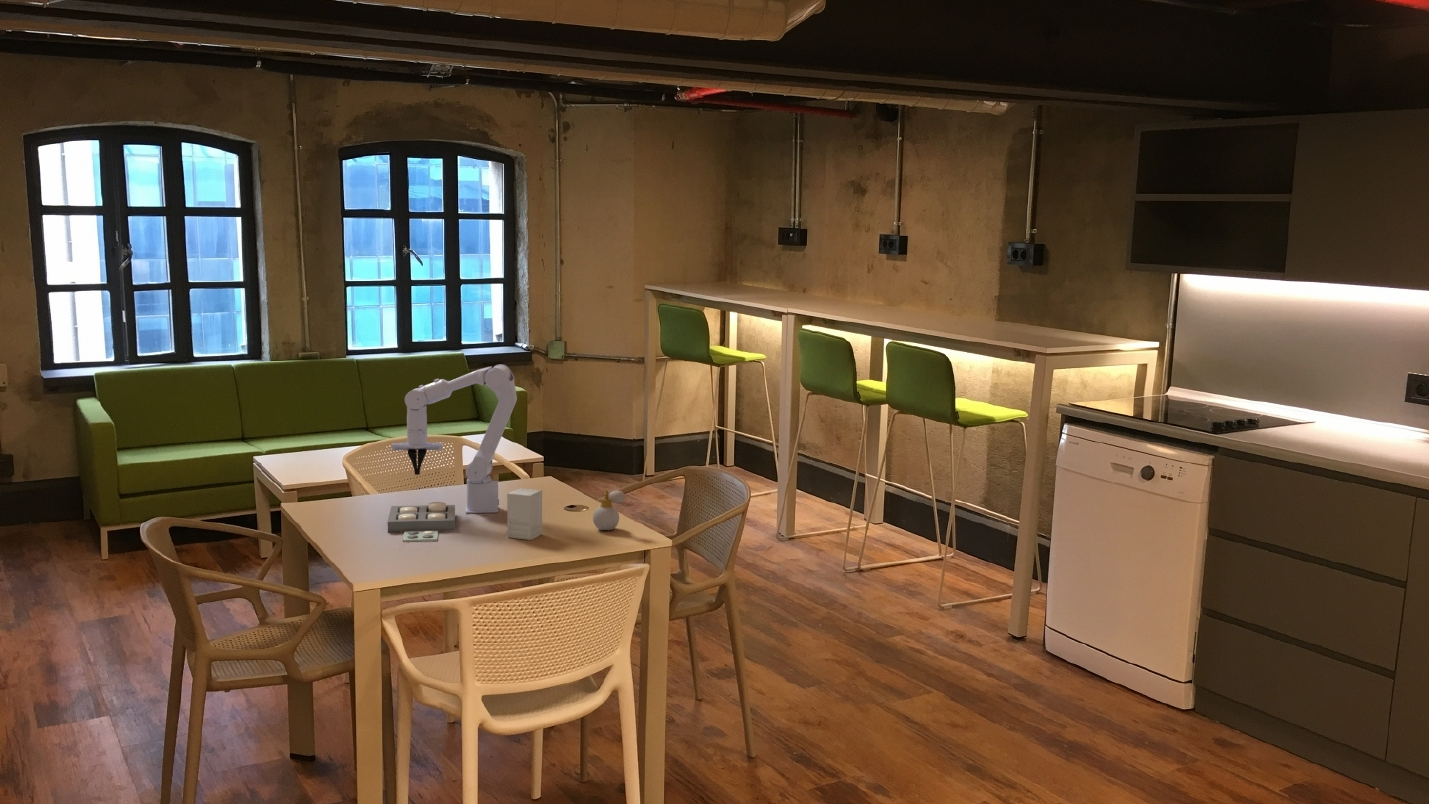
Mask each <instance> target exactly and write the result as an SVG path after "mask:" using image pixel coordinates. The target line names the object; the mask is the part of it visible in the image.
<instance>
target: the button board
mask: <svg viewBox="0 0 1429 804" xmlns="http://www.w3.org/2000/svg"><path fill="white" fill-rule="evenodd" d="M403 507H415V508H417V512H407V513H400V508H403ZM389 511H390V512H389V515H388V519H387V533H404V531H433V530H438V532H454V531H456V530H455V528H456V527H455V526H456V505H455V504H446V512H429V504H428V505H427V504H426V505H425V504H424V505H423V504H422V505H421V504H420V505H391V507H390V510H389ZM432 513H442V514H445V519H428V515H429V514H432ZM401 514H415V515H416V519H410V520H398V516H399V515H401Z"/></svg>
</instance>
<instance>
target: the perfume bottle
mask: <svg viewBox="0 0 1429 804" xmlns="http://www.w3.org/2000/svg"><path fill="white" fill-rule="evenodd" d="M625 495H626V494H624V492H623V491H621V490H613V491H611V492H608V489H605V491H604V494H603V496H604V497H602V498H601V500H600V501H601V503H600V505H599V506H598V507H597V508H596V509H595V510H594V512H593V515H592V522H593V524H594V526H595V527H596V528H597V529H598V530H600V531H603V530H608V531H612V530H614V529H615V528H617V526H618V524H619V521H620V513H619V511H618V510H617V508H616V507H614V506H613V503H615V504H621V503H623V502H624V501H625V498H626V496H625ZM612 502H613V503H612Z"/></svg>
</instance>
